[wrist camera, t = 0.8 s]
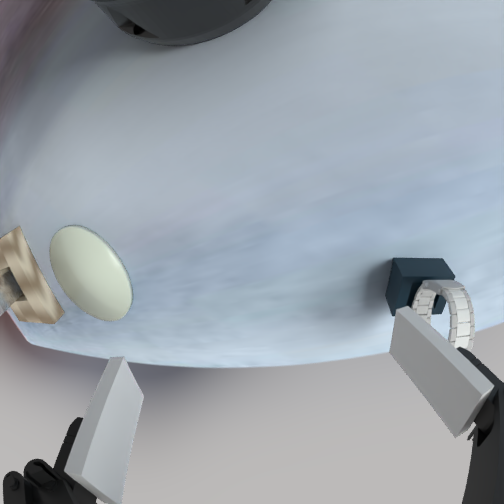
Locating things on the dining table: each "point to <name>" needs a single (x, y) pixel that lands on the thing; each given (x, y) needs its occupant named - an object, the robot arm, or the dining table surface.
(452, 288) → the watch
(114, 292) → the coaster
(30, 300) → the holder block
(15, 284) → the canister
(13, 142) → the dining table surface
